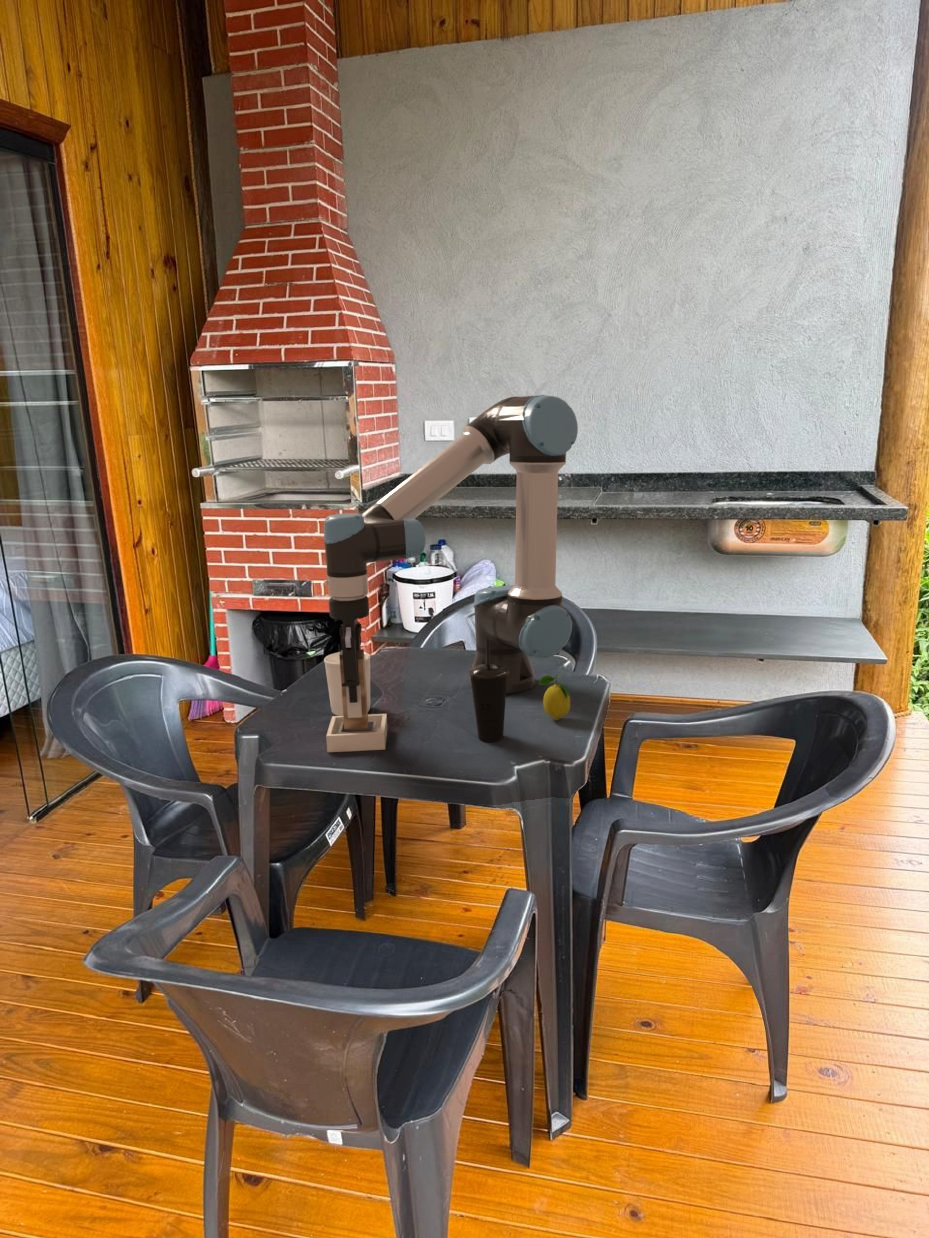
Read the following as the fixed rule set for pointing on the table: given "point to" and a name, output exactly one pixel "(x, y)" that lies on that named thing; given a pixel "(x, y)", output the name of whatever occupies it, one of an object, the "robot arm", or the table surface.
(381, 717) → the cream open tray
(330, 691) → the cream cup
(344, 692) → the brown bar
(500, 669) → the drinking cup
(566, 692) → the lemon
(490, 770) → the table surface
